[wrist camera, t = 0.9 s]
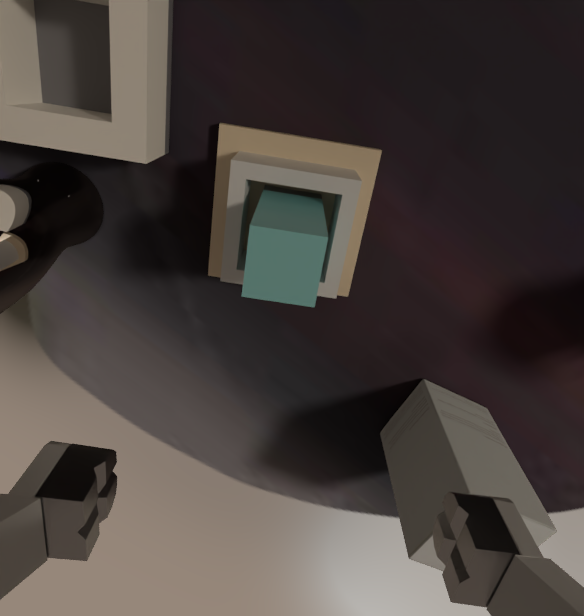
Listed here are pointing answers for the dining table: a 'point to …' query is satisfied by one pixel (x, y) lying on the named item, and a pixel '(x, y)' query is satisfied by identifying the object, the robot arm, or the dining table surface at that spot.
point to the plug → (286, 247)
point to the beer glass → (42, 223)
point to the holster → (297, 176)
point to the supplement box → (451, 465)
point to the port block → (87, 76)
